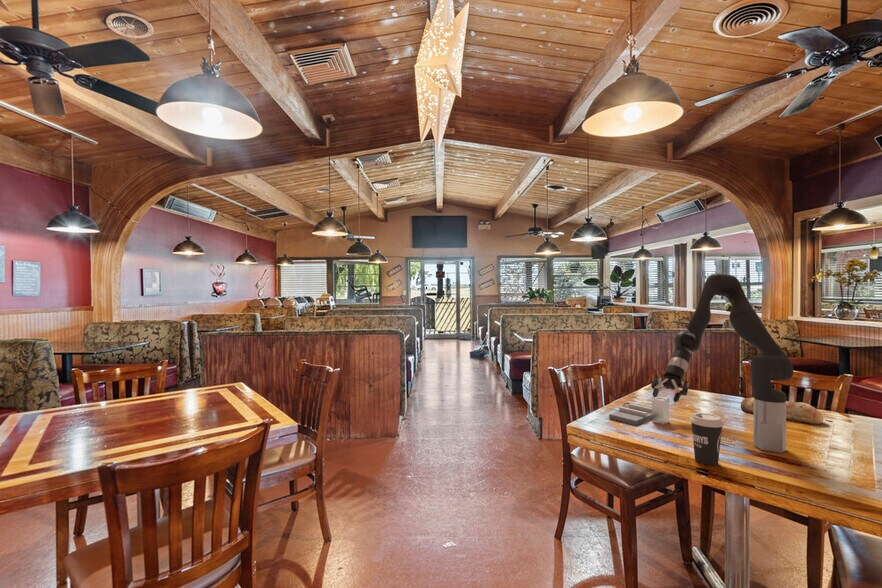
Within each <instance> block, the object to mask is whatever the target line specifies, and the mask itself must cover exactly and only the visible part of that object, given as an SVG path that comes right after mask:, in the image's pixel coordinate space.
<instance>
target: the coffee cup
mask: <svg viewBox="0 0 882 588" xmlns="http://www.w3.org/2000/svg"><path fill="white" fill-rule="evenodd" d="M689 422H690V423H691V429H692V430H691V431H692V442H693V443H692V444H693V452H694V460H695V462H696V463H698V464H701V465H704V466H710V467H712V466H713V467H714V466H718V465H719V461H720V460H719V459H720V450H721V442H722V441H721V439H722V432H723V427H725V426H724V425H725V424H724V421H723V420H722V417H720V416H719V415H717V414H714V413H713V414H711V413H707V412H695V413H693V414H692V416H690V419H689Z"/></svg>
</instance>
